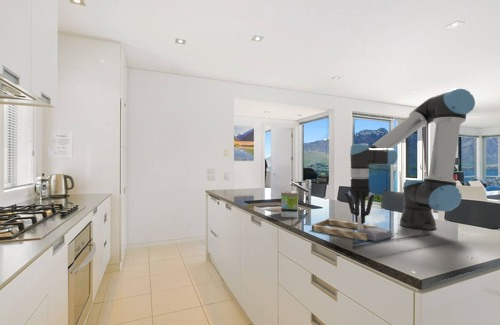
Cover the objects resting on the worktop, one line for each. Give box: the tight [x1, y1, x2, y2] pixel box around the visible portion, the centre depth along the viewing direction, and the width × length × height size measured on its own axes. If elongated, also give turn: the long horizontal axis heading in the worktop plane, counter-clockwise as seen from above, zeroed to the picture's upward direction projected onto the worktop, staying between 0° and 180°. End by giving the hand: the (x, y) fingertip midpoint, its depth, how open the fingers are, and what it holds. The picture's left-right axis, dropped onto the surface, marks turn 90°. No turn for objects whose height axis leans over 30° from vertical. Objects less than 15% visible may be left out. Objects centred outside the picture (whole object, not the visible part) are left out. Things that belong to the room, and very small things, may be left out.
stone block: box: [357, 226, 393, 242], centre depth 107 cm, size 12×5×10 cm
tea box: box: [280, 190, 299, 219], centre depth 155 cm, size 15×10×15 cm
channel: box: [311, 218, 379, 241], centre depth 117 cm, size 24×18×2 cm
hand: (360, 230), depth 112 cm, fingers closed
